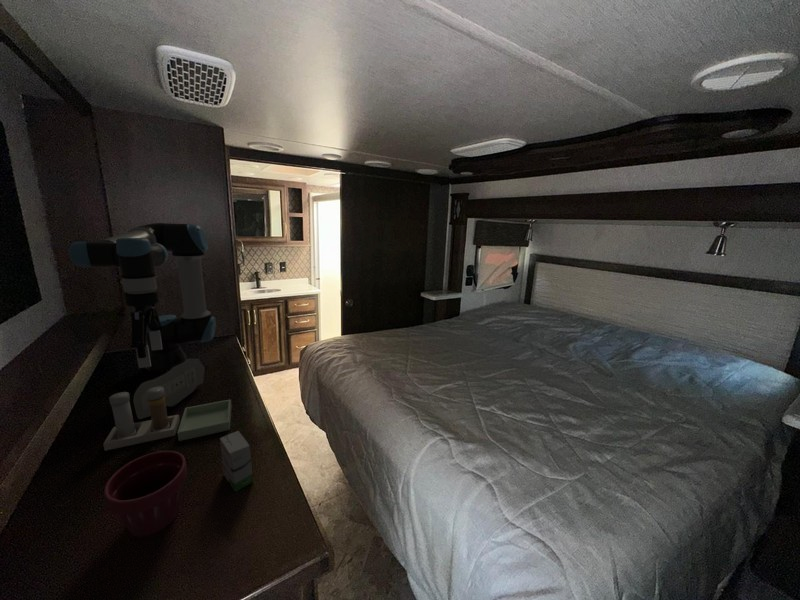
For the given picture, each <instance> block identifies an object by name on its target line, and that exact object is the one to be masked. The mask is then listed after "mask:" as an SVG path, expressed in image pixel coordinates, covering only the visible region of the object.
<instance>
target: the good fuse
mask: <svg viewBox="0 0 800 600" xmlns="http://www.w3.org/2000/svg"><path fill="white" fill-rule="evenodd" d="M108 400H109V404H110V406H111V409H112V414H113V419H114V425H115V427H116V429H117V433H118V435H117V439H120V438H125V437H130V436H135V435H136V434H137V431H136V429H135V427H134V423H135V422H134V417H132V411H131V406H130V401H129V400H130V393H129V392H127V391H121V392H117V393H114V394H112V395H110V396H109V398H108Z"/></svg>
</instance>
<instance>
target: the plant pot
mask: <svg viewBox="0 0 800 600" xmlns="http://www.w3.org/2000/svg"><path fill="white" fill-rule="evenodd" d="M187 476H188V467H187V462H186V458H185V456H184V455H183V454H182V453H180V452H178V451H175V450H160V451H155V452H151V453H147V454H145V455H142V456H140V457H137V458H135V459H133V460H131V461H129V462H128V463H126V464H124V465H123V466H121V467H120V468H119V469H118V470H116V471H115V472H114V474H113V475H112V476H111V477H110V478H109V479H108V481H107V482H106V484H105V486H104V491H103V493H104V499H105V505H106V507H107V509H108V511H110V513H112V514H114V515H117V516H118V517H119V519H120V520H121V521H122V523H123V525H124V526H125V527H126V529H127V530H128V531H129V533H130V534H131V535H132V536H134V537H138V538H139V537H140V538H142V537H149V536H151V535H154V534H156V533H158V532H160V531H162V530H163V529H165V528H166V527H167V526H169V525H170V524H171V523H172V522H173V521H174V520H175V519H176V517H177V515H178V513H179V510H180V505H181V498H182V490H183V485H184V483H185V481H186V479H187Z"/></svg>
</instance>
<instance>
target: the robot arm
mask: <svg viewBox="0 0 800 600" xmlns="http://www.w3.org/2000/svg"><path fill="white" fill-rule="evenodd" d="M206 235H207V234H206V233H205V231H204V228H203V227H202V226H201V225H199V224H191V223H165V222H154V223H149V224H143V225H139V226H136V227H135V226H134V227H132V228H130V229H129V230H128V231H127V232H124V233H121V234H117V235H115V236H110V237H107V238H104V239H100V240H96V241H86V240H84V241H75V242H72V243H70V245H69V247H68V256H69V259H70V261H71V263H72V264H73V265H74V266H77V267H80V268H81V267H82V268H119V270H120V276H121V277H120V278H121V280H120V281H119V283H120V284H122V287H123V292H125V293H124V300H125V305H126V306H128V307H133V308H134V309H135V310H134V311H133V312H131V313H130V317H131V345H130V349H134V348H135V354H136V361H137V365H138V366H137V367H138V369H142V368H145V369H147V370H148V371H147V370H146V371H147V372H149V371H151V372H150V373H155V372H157V373H162V372H161V371H166V372H167V370H169V369H170V368H172V367H174V366H176V365H179V364H181V363H183V362H184V361H186V360H188V359H187V357H188V356H187V355H186V353H185V352H184V351H183V348H182V347H181V344H190V343H192V344H193V343H204V342H205V343H206V342H210V341H212V340H213V339H214V338H215V337H214V336H215V332H216V328H217V319H216V317H215V316H212V313H211V311H210V310H207V304H206V294H205V293H206V292H205V285H204V284H205V283H204V277H203V267H202V259H203V258H204V256H205V253H206V252H207V251H208V250H209V243H208V239H207V236H206ZM169 252H171V255H172V257H173V258H175V259H176V261H177V267H178V268H177V269H178V276H179V284H180V290H181V291H180V292H181V296H182V304H183V305H182V307H183V313H182V314H181V315H180V318H178V316H177V315H176V314H165V315H159V314H158V311H157V308H156V305H157V304H158V303H159V302H160V300H159V292H158V291H157V289H158V284H157V278H156V273H155V267H159V266H162V265H163V264H165V263H166V262H167V261H168V259H169Z"/></svg>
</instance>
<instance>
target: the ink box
mask: <svg viewBox="0 0 800 600" xmlns="http://www.w3.org/2000/svg"><path fill="white" fill-rule="evenodd" d="M219 443H220V445H219V446H220V451H221V452H220V453H221V462H222V471H223V476H224V477H225V479H226V480H227V482H228V483H229V485H230V486H231V488H232V490H233V491H234V492H238V491H240V490H241V489H243V488H245V487H247V486H248V485H250V484H252V483H253V482H254V478H253V468H252V458H251V457H252V456H251V447H250V444H249V443H248V441H247V440H246V439H245V438H244V436H243V435H242V433H240V431H239V430H236V431H234V432H231V433H229V434H227V435H224V436H222V437H220V438H219Z"/></svg>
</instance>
